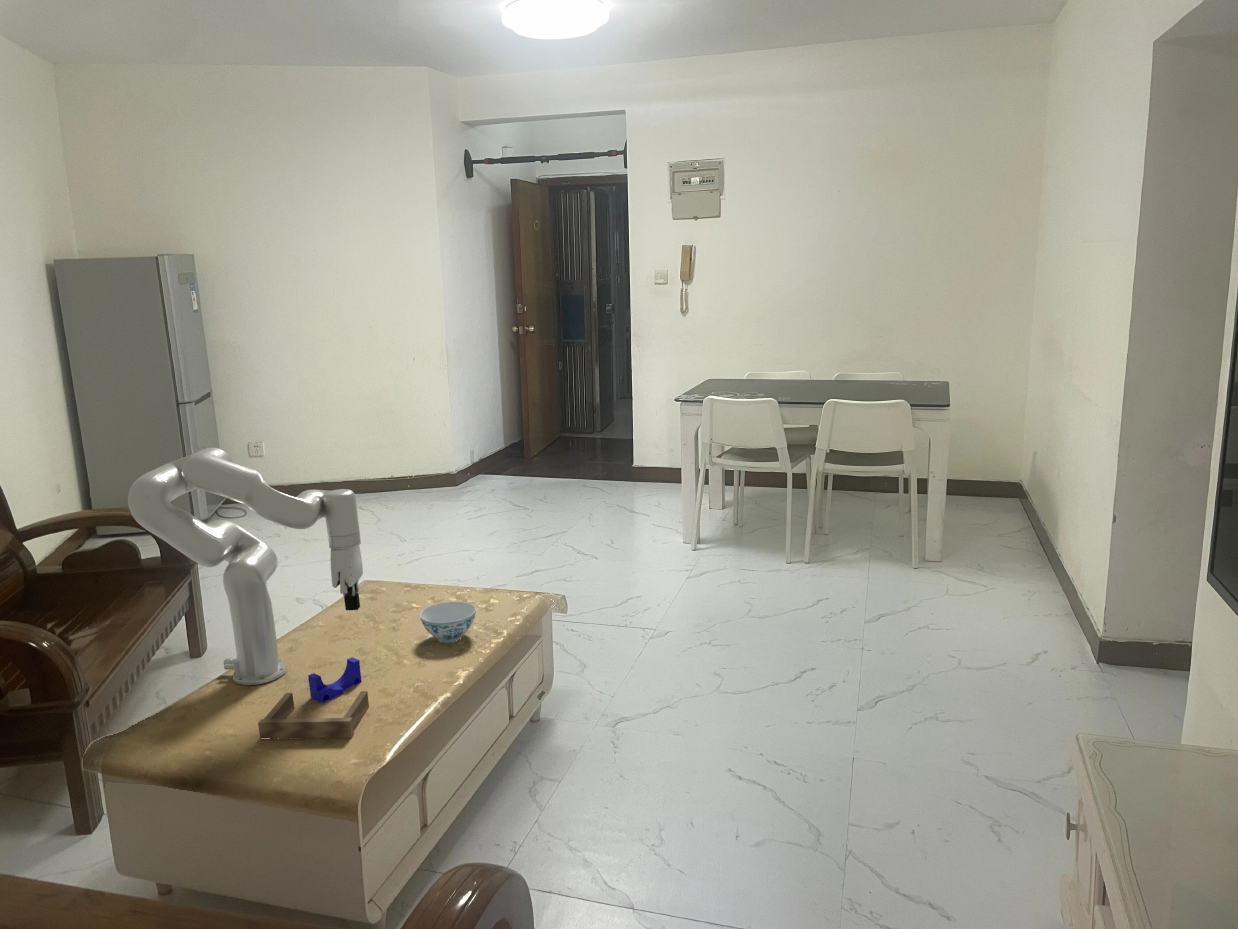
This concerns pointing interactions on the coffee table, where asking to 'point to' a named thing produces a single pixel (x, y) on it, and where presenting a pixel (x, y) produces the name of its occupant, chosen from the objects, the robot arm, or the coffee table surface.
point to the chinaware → (448, 620)
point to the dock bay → (311, 721)
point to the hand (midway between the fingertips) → (353, 608)
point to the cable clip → (337, 688)
